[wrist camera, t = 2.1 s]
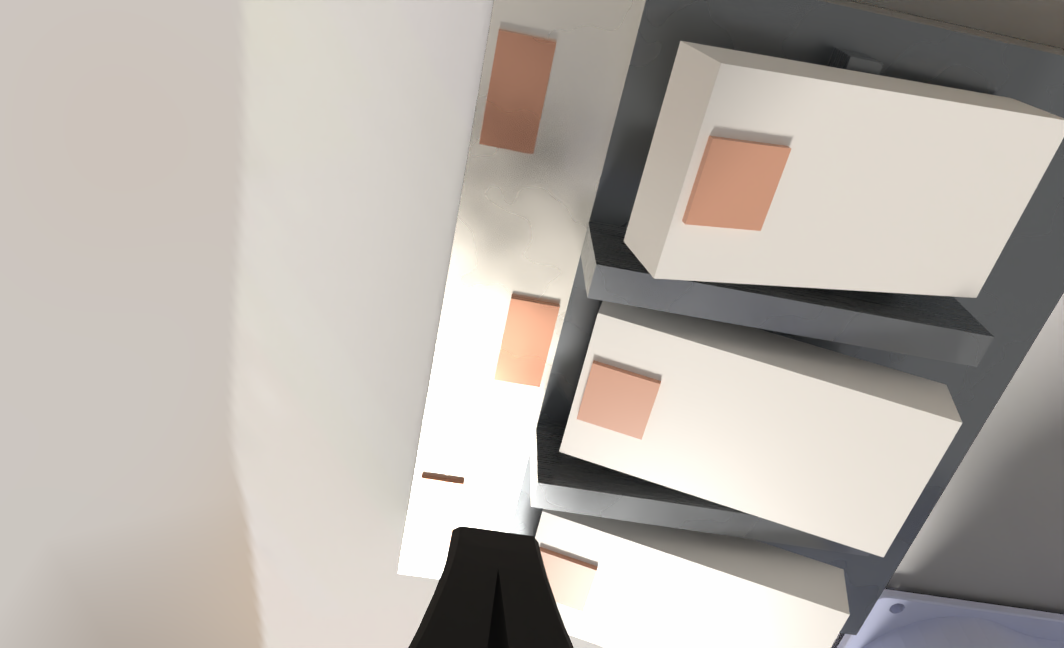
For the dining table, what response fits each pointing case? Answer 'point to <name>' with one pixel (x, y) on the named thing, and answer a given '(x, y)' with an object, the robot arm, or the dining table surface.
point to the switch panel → (618, 276)
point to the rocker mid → (759, 423)
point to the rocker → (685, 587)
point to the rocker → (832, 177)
